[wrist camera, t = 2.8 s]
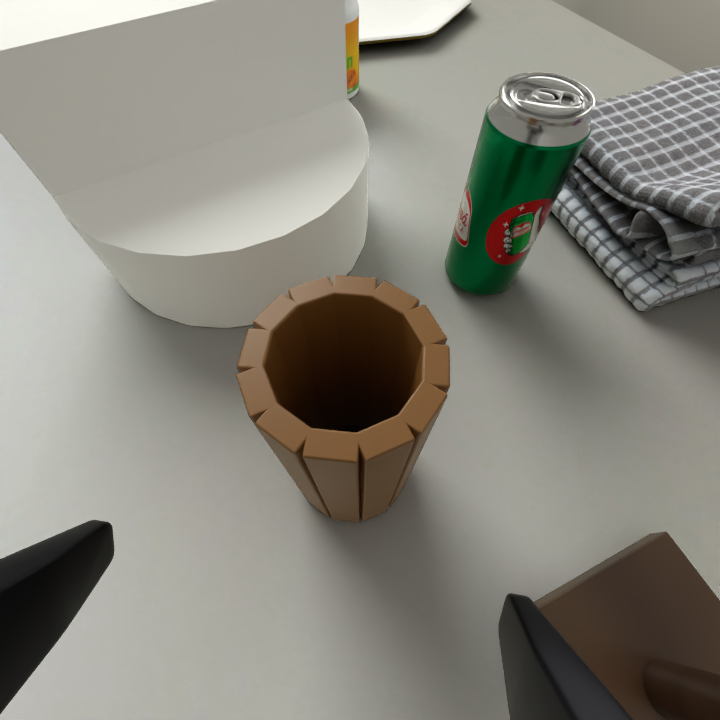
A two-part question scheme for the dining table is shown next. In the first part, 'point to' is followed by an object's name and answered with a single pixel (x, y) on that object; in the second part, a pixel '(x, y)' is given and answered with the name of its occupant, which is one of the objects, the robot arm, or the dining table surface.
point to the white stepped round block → (193, 143)
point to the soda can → (516, 177)
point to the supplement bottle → (352, 46)
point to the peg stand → (645, 630)
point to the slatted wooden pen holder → (345, 389)
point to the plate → (405, 18)
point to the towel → (651, 189)
